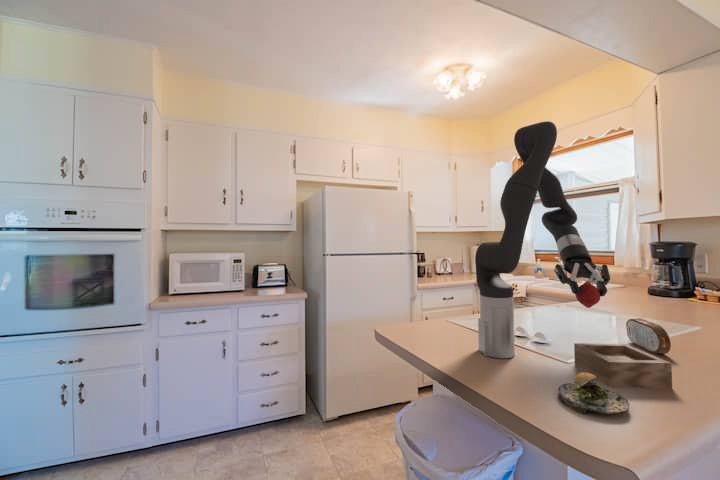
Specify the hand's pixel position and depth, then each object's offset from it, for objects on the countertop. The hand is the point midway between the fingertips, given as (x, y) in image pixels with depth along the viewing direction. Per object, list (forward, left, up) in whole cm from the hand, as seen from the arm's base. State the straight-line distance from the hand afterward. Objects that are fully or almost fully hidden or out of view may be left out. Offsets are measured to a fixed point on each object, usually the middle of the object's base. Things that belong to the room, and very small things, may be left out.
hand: (590, 294), depth 87 cm
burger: (-17, -26, -18) cm, 36 cm away
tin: (+20, +8, -18) cm, 28 cm away
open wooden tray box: (-2, -12, -18) cm, 22 cm away
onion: (0, +2, -5) cm, 5 cm away
